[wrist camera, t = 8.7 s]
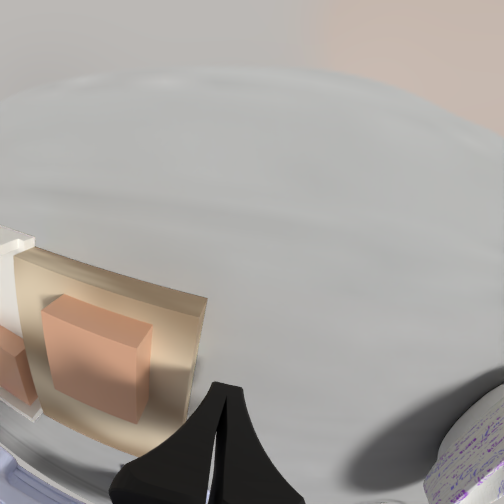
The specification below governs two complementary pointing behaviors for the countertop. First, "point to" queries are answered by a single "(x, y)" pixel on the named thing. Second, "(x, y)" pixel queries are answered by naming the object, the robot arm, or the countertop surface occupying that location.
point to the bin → (13, 306)
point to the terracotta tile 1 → (15, 367)
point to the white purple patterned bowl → (471, 456)
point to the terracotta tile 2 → (98, 356)
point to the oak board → (128, 304)
